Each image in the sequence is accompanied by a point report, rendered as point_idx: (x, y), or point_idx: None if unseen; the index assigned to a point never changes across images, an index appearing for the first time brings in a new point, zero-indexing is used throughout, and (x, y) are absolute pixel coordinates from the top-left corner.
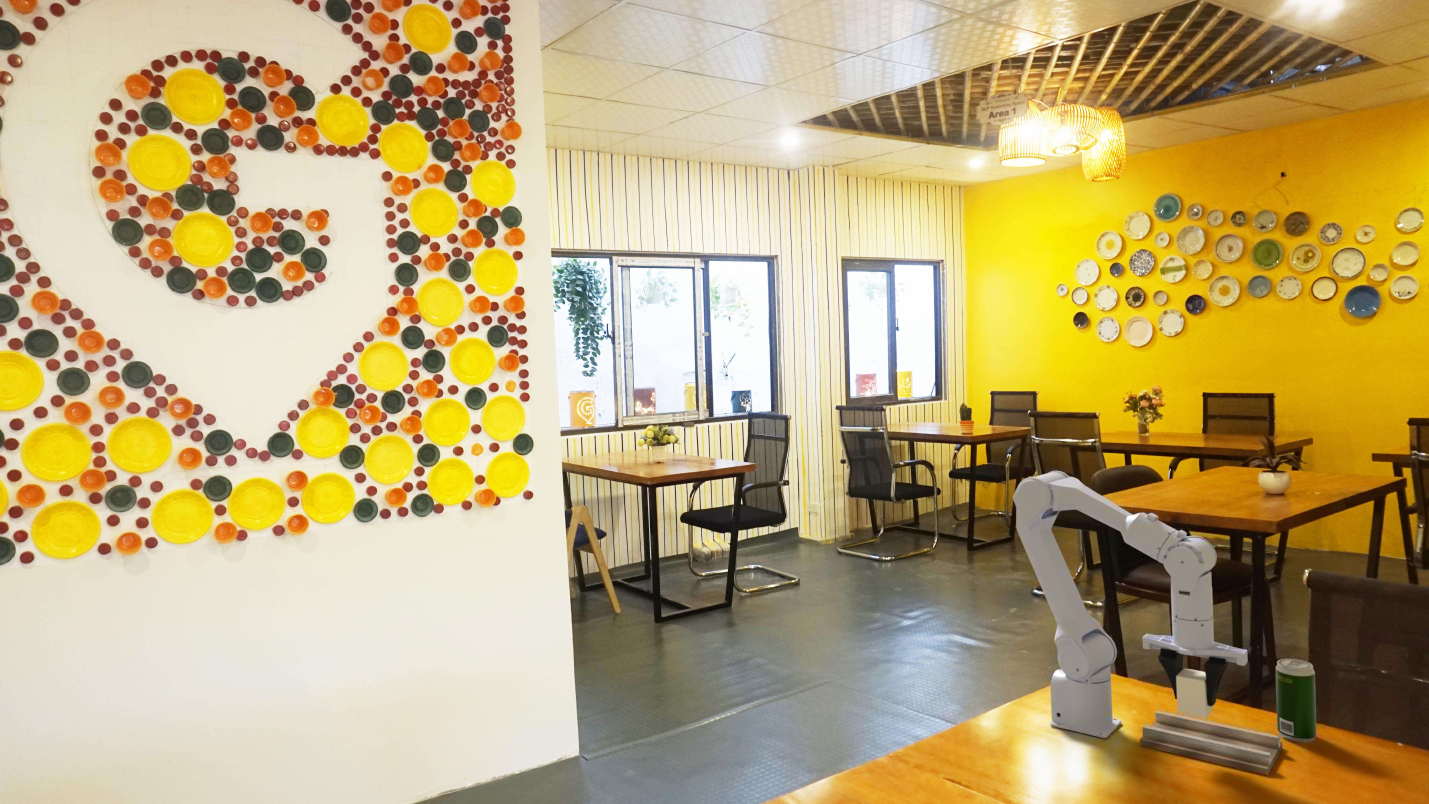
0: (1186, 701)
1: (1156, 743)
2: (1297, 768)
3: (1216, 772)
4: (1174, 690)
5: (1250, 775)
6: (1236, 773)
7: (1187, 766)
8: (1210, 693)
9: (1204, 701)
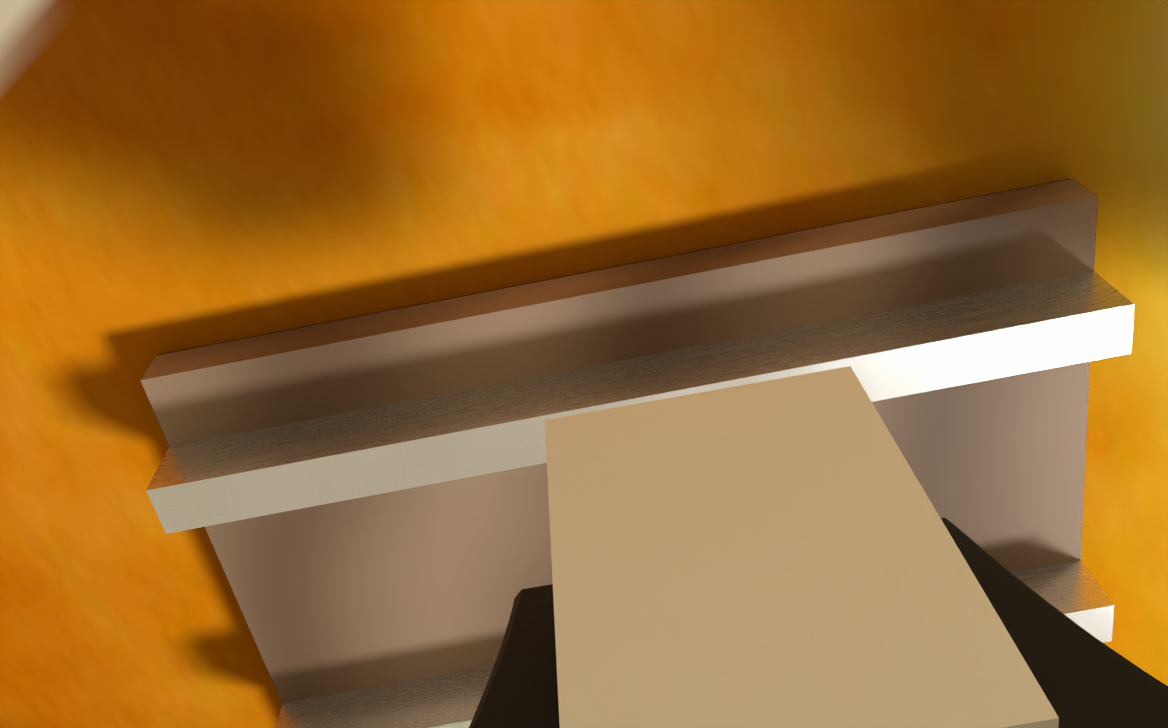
0: (785, 481)
1: (956, 220)
2: (103, 571)
3: (421, 143)
4: (994, 573)
5: (230, 273)
6: (313, 233)
7: (631, 81)
8: (510, 693)
9: (560, 552)
